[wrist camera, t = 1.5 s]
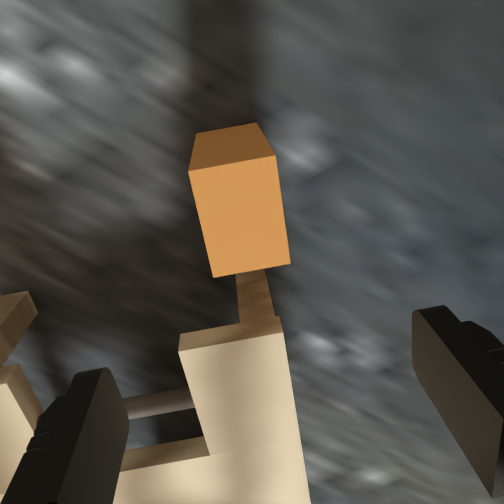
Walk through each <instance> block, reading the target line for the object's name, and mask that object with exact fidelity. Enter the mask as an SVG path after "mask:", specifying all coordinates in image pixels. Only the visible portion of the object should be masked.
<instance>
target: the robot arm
mask: <svg viewBox="0 0 504 504" xmlns="http://www.w3.org/2000/svg"><path fill="white" fill-rule="evenodd" d="M412 362H413V367H414V370H415V373H416V375H417V378H418V380H419V381H420V383H421V385H422V386H423V388H424V389H425V391H426V393H427V394H428V396H429V398H430V399H431V401H432V402H433V404H434V406H435V407H436V409H437V410H438V412H439V414H440V415H441V417H442V419H443V420H444V422H445V423H446V425H447V427H448V428H449V430H450V431H451V433H452V435H453V436H454V438H455V439H456V441H457V443H458V444H459V446H460V448H461V449H462V451H463V452H464V454H465V456H466V457H467V459H468V460H469V462H470V464H471V465H472V467H473V469H474V470H475V472H476V473H477V475H478V477H479V478H480V480H481V481H482V483H483V485H484V486H485V488H486V490H487V491H488V493H489V494H490V496H491V498H496V497H501V496H504V345H503V344H502V343H501V342H500V341H499V340H498V339H497V338H496V337H495V336H494V335H493V334H492V333H491V332H490V331H488V330H487V329H485V328H483V327H481V326H479V325H477V324H476V323H474V322H472V321H465V322H460V321H459V320H458V318H457V317H456V316H455V315H454V314H453V313H452V312H451V311H450V310H449V309H448V308H447V307H446V306H444V305H441V306H435V307H430V308H425V309H419V310H415V311H414V312H413V314H412ZM128 432H129V419H128V413H127V409H126V407H125V404H124V402H123V399H122V397H121V395H120V392H119V390H118V387H117V385H116V382H115V380H114V378H113V375H112V373H111V371H110V370H109V369H108V368H106V367H105V368H100V369H94V370H89V371H84V372H79V373H76V374H75V376H74V378H73V380H72V382H71V385H70V387H69V389H68V392H67V394H66V395H65V396H60V397H57V398H56V399H55V401H54V402H53V403H52V404H51V405H50V406H49V407H48V408H47V410H46V411H45V412H44V413H43V414H42V416H41V418H40V420H39V422H38V424H37V426H36V429H35V431H34V433H33V434H34V436H33V437H31V439H30V441H29V444H28V446H27V448H26V453H24V454H23V456H22V458H21V461H20V463H19V465H18V467H17V469H16V471H15V473H14V476H13V478H12V480H11V482H10V484H9V486H8V488H7V490H6V493H5V495H4V497H3V499H2V501H1V503H0V504H113V501H114V496H115V491H116V487H117V482H118V478H119V473H120V469H121V464H122V460H123V455H124V451H125V446H126V442H127V437H128Z"/></svg>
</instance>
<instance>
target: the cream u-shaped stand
mask: <svg viewBox="0 0 504 504" xmlns="http://www.w3.org/2000/svg"><path fill="white" fill-rule="evenodd" d="M235 276H236V287H237V297H238V308H239V319H240V323H237V324H232V325H227V326H221V327H216V328H210V329H205V330H199V331H194V332H188V333H183V334H180V340H179V349H178V353H179V356H180V359H181V363H182V366H183V369H184V372H185V376H186V379H187V382H188V385H189V387H183V388H178V389H173V390H167V391H162V392H156V393H151V394H145V395H140V396H135V397H129V398H124V399H123V402H124V404H125V407H126V409H127V413H128V419H129V420H130V419H136V418H141V417H147V416H152V415H157V414H163V413H168V412H174V411H179V410H185V409H190V408H196V411H197V415H198V418H199V421H200V424H201V428H202V431H203V434H204V436H201V437H196V438H191V439H185V440H180V441H174V442H169V443H163V444H158V445H153V446H147V447H142V448H136V449H131V450H125V451H124V455H123V460H122V464H121V469H120V473H119V478H118V482H117V487H116V491H115V496H114V501H113V504H311V502H310V496H309V490H308V484H307V477H306V471H305V465H304V459H303V453H302V446H301V440H300V434H299V428H298V422H297V415H296V409H295V403H294V397H293V391H292V384H291V378H290V372H289V366H288V360H287V353H286V347H285V341H284V335H283V330H282V326H281V322H280V318H279V316H275V313H274V309H273V304H272V300H271V296H270V291H269V287H268V282H267V278H266V274H265V269H259V270H253V271H248V272H242V273H237V274H235ZM37 314H38V311H37V308H36V306H35V304H34V302H33V300H32V298H31V296H30V294H29V291H23V292H17V293H12V294H6V295H2V296H1V297H0V503H1V501H2V499H3V497H4V495H5V493H6V490H7V488H8V486H9V484H10V482H11V480H12V478H13V476H14V473H15V471H16V469H17V467H18V465H19V463H20V461H21V458H22V456H23V454H24V453H26V448H27V446H28V444H29V441H30V439H31V437H33V436H34V434H33V433H34V431H35V429H36V426H37V424H38V422H39V420H40V418H41V416H42V414H43V413H44V411H43V409H42V407H41V405H40V403H39V401H38V399H37V398H36V396H35V394H34V392H33V390H32V388H31V386H30V384H29V383H28V381H27V379H26V377H25V375H24V373H23V371H22V369H21V368H20V366H19V364H14V365H9V366H4V367H2V366H3V365H4V363H5V362H6V360H7V359H8V357H9V356H10V354H11V353H12V351H13V350H14V348H15V347H16V345H17V344H18V342H19V341H20V339H21V338H22V336H23V335H24V333H25V332H26V330H27V329H28V327H29V326H30V324H31V323H32V321H33V320H34V318H35V317H36V315H37Z"/></svg>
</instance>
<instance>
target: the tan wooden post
mask: <svg viewBox="0 0 504 504" xmlns="http://www.w3.org/2000/svg"><path fill="white" fill-rule="evenodd" d="M188 173H189V177H190V181H191V186H192V190H193V194H194V198H195V202H196V207H197V211H198V215H199V219H200V224H201V228H202V232H203V236H204V241H205V245H206V249H207V253H208V257H209V262H210V266H211V270H212V274H213V278H215V277H221V276H226V275H231V274H237V273H242V272H248V271H253V270H259V269H264V268H270V267H275V266H280V265H286V264H291V263H290V256H289V248H288V241H287V234H286V227H285V220H284V212H283V205H282V198H281V191H280V184H279V176H278V169H277V162H276V155H275V153H274V152H273V150H272V148H271V147H270V145H269V143H268V141H267V140H266V138H265V136H264V134H263V133H262V131H261V129H260V128H259V126H258V124H257V122H256V123H250V124H245V125H240V126H234V127H229V128H223V129H218V130H212V131H207V132H201V133H196V137H195V142H194V146H193V151H192V156H191V160H190V165H189V170H188Z"/></svg>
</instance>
